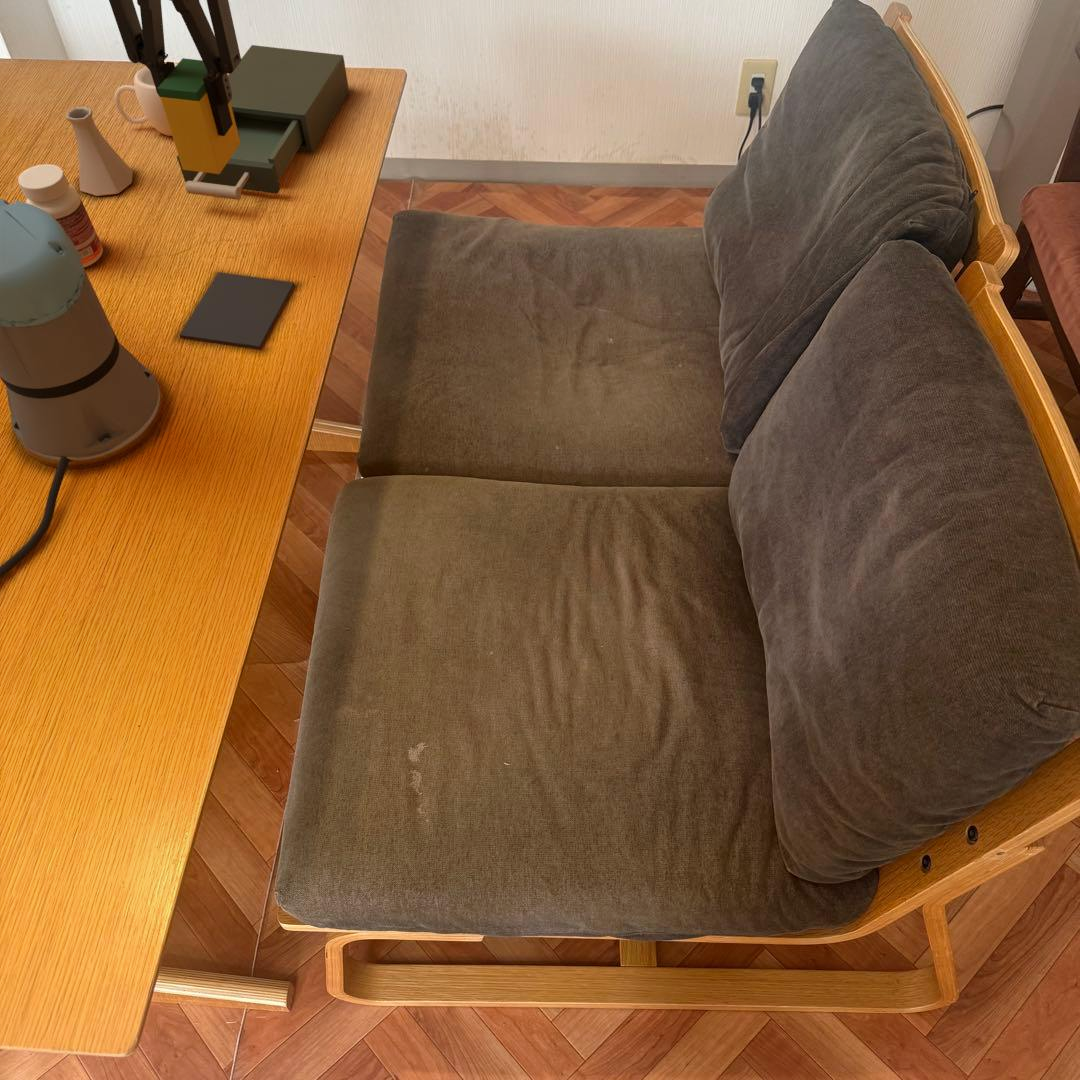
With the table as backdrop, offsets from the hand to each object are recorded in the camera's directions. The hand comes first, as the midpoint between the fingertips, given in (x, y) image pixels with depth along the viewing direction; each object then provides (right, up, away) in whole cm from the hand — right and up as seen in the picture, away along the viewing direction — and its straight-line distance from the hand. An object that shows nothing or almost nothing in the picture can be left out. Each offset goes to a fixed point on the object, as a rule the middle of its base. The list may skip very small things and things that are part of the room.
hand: (203, 126), depth 104 cm
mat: (+2, -20, +6) cm, 21 cm away
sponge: (0, -2, +3) cm, 4 cm away
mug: (-17, +13, +30) cm, 36 cm away
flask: (-21, +2, +21) cm, 30 cm away
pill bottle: (-20, -12, +11) cm, 26 cm away
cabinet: (0, +17, +32) cm, 36 cm away
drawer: (-2, +5, +22) cm, 23 cm away
